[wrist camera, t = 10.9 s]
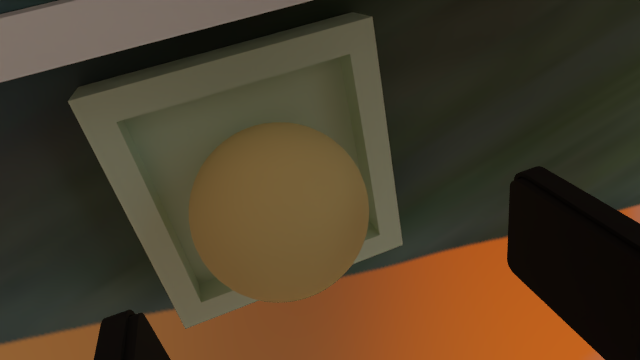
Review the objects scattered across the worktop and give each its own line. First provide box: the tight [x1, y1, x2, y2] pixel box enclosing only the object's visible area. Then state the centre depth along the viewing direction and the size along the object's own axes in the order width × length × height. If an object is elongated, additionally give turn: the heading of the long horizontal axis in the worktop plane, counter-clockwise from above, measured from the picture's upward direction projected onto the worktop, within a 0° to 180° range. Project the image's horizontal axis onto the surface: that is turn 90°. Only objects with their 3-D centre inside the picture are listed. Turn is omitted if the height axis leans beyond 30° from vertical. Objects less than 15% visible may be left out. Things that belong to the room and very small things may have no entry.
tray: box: [68, 12, 403, 329], centre depth 17 cm, size 10×10×2 cm
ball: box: [189, 122, 369, 302], centre depth 15 cm, size 6×6×6 cm
